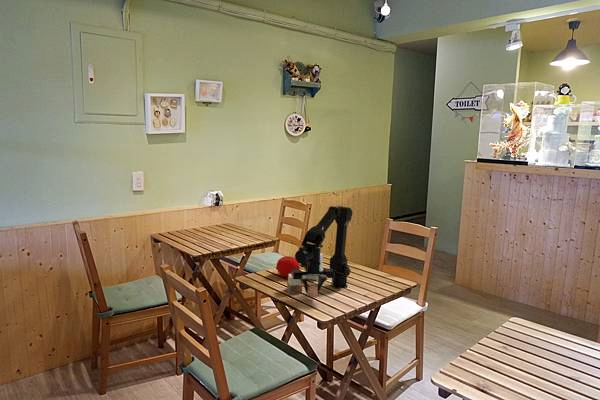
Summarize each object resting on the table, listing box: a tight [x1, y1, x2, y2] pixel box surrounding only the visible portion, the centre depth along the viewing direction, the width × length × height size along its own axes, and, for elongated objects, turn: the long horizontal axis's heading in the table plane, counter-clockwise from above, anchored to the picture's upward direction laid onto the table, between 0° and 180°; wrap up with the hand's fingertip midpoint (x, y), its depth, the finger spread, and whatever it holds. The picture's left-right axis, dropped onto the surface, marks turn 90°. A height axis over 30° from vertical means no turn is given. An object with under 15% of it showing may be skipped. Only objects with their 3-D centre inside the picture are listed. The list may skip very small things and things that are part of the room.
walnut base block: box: [286, 280, 303, 295], centre depth 197 cm, size 6×6×4 cm
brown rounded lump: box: [305, 282, 319, 297], centre depth 187 cm, size 5×5×4 cm
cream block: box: [287, 274, 302, 286], centre depth 197 cm, size 5×5×4 cm
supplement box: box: [304, 252, 324, 281], centre depth 217 cm, size 7×7×13 cm
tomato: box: [275, 255, 301, 278], centre depth 218 cm, size 11×12×10 cm
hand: (312, 292), depth 188 cm, fingers closed on brown rounded lump, 5 cm apart
